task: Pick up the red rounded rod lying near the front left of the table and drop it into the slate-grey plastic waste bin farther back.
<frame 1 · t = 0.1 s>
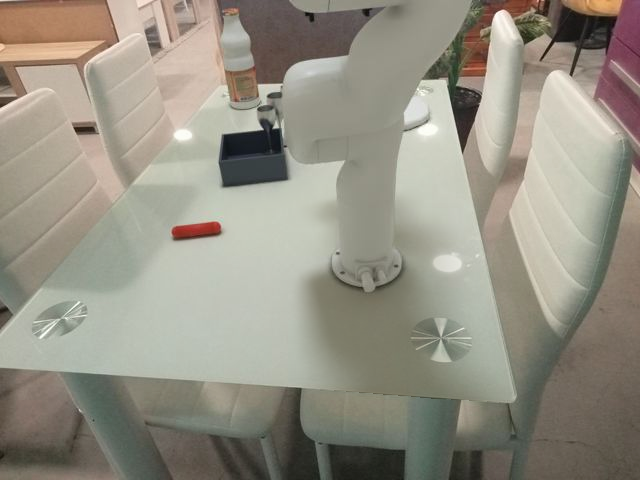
hand: (338, 17, 84), 37 cm above the table, tool pointing down, fingers open, 9 cm apart
fruit juice: (245, 104, 154), on the table
decorative plate: (385, 116, 140), on the table
red rounded rod: (197, 234, 98), on the table
goblet set: (292, 133, 133), on the table, touching bin
bin: (255, 167, 119), on the table
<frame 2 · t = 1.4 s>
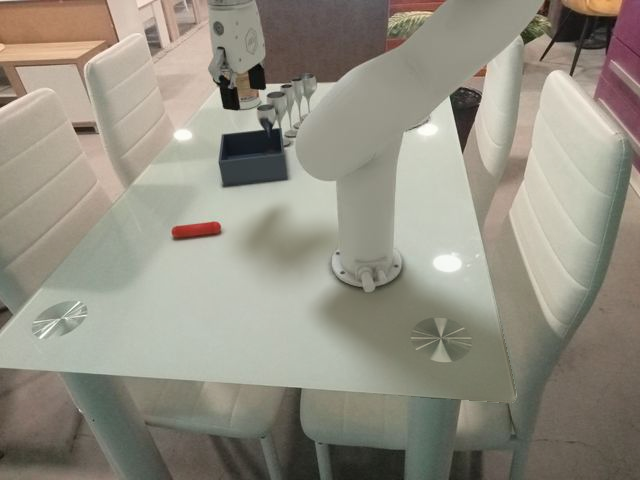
hand: (245, 98, 86), 26 cm above the table, tool pointing down, fingers open, 9 cm apart
nothing on the table moved.
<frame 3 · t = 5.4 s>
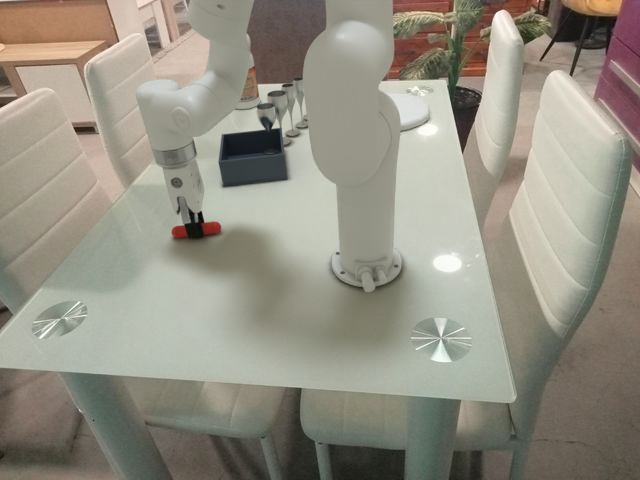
hand: (197, 232, 98), 1 cm above the table, tool pointing down, fingers closed on red rounded rod, 2 cm apart
red rounded rod: (197, 234, 98), on the table, touching gripper
everything else where it was.
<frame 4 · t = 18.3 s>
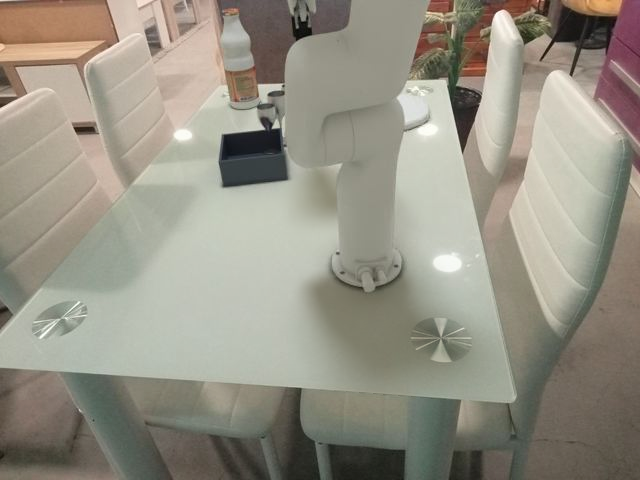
hand: (302, 42, 96), 30 cm above the table, tool pointing down, fingers open, 9 cm apart
red rounded rod: (255, 165, 119), point 1 cm above the table, tilted 17°, touching bin
everything else where it was.
at the end: red rounded rod inside the target area in the bin (0.1 cm from its centre), point 0.6 cm above the bin's base; the gripper is holding nothing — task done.
